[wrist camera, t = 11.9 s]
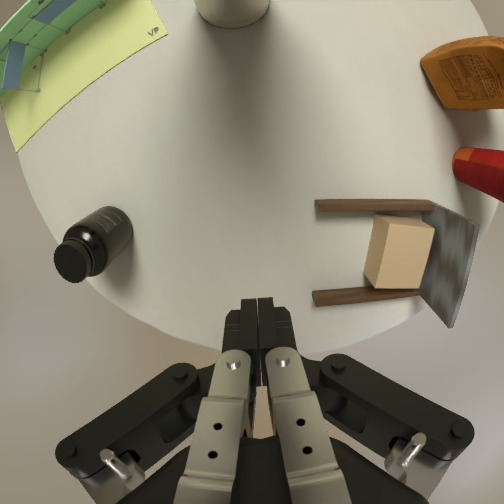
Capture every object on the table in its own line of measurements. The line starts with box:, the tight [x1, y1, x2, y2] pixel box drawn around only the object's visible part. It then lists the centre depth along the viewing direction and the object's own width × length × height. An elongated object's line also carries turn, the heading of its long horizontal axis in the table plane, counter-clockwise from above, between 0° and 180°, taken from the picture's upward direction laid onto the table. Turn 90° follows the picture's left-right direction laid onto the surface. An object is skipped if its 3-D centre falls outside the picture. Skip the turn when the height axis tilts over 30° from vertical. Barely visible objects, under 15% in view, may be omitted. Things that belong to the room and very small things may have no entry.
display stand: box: [0, 0, 168, 152], centre depth 22 cm, size 30×12×12 cm, turn 115°
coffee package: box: [421, 36, 504, 111], centre depth 18 cm, size 10×12×22 cm
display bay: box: [312, 199, 479, 328], centre depth 33 cm, size 14×18×12 cm
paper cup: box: [452, 148, 504, 202], centre depth 27 cm, size 8×8×14 cm
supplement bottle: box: [54, 206, 132, 283], centre depth 32 cm, size 7×7×12 cm
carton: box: [363, 214, 435, 288], centre depth 37 cm, size 9×8×5 cm
